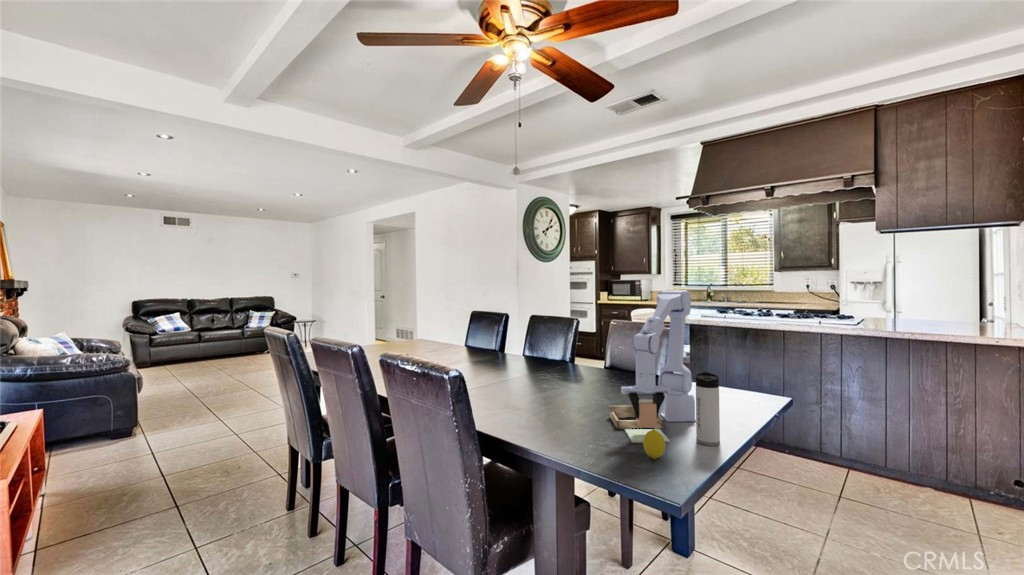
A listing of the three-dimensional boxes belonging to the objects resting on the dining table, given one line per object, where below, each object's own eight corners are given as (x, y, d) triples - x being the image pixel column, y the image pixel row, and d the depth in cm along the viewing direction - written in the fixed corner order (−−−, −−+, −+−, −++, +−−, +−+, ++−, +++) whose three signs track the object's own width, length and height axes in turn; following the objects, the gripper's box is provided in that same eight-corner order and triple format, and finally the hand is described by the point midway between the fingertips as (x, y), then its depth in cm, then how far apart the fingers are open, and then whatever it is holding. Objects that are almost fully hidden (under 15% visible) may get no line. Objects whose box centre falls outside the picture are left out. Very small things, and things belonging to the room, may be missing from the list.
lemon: (640, 455, 119) (639, 426, 119) (660, 454, 120) (659, 425, 119) (648, 464, 114) (647, 433, 113) (669, 463, 114) (668, 432, 114)
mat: (659, 430, 138) (659, 429, 138) (670, 442, 128) (670, 440, 128) (624, 430, 139) (624, 429, 139) (632, 442, 129) (632, 440, 129)
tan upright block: (652, 421, 136) (651, 399, 136) (656, 427, 131) (656, 403, 131) (635, 422, 136) (635, 399, 136) (639, 427, 131) (639, 404, 131)
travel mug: (718, 439, 130) (717, 372, 130) (721, 447, 124) (720, 377, 123) (695, 437, 132) (694, 371, 132) (697, 445, 126) (696, 376, 125)
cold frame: (653, 416, 152) (653, 405, 152) (664, 428, 140) (663, 416, 140) (610, 417, 153) (609, 405, 153) (617, 428, 141) (616, 416, 141)
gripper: (624, 376, 129) (625, 421, 130) (673, 375, 129) (674, 421, 129) (619, 371, 136) (620, 414, 137) (666, 370, 136) (666, 413, 136)
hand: (646, 417), depth 133 cm, fingers closed on tan upright block, 5 cm apart
